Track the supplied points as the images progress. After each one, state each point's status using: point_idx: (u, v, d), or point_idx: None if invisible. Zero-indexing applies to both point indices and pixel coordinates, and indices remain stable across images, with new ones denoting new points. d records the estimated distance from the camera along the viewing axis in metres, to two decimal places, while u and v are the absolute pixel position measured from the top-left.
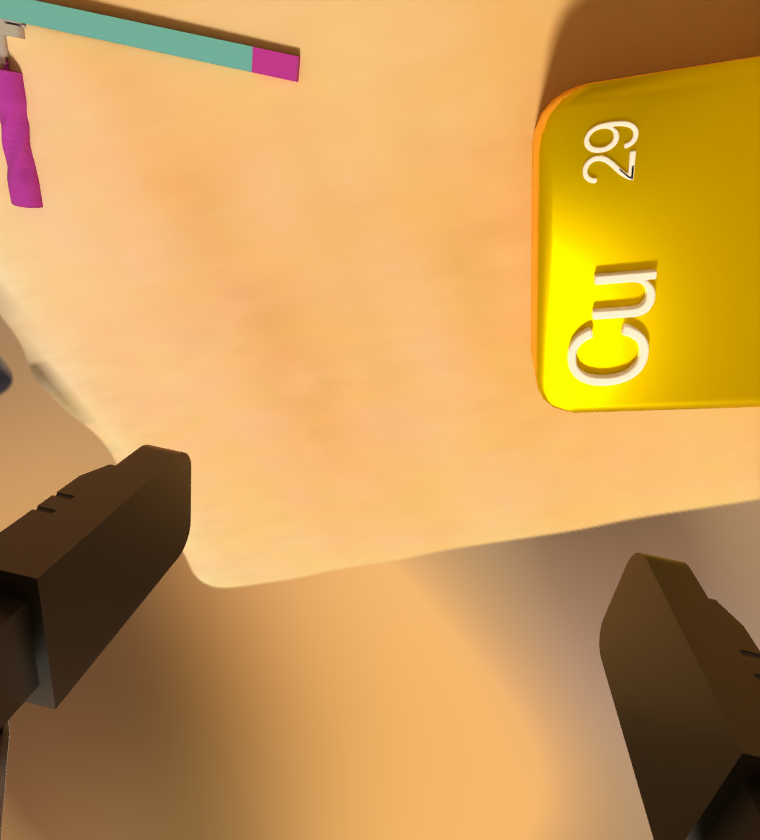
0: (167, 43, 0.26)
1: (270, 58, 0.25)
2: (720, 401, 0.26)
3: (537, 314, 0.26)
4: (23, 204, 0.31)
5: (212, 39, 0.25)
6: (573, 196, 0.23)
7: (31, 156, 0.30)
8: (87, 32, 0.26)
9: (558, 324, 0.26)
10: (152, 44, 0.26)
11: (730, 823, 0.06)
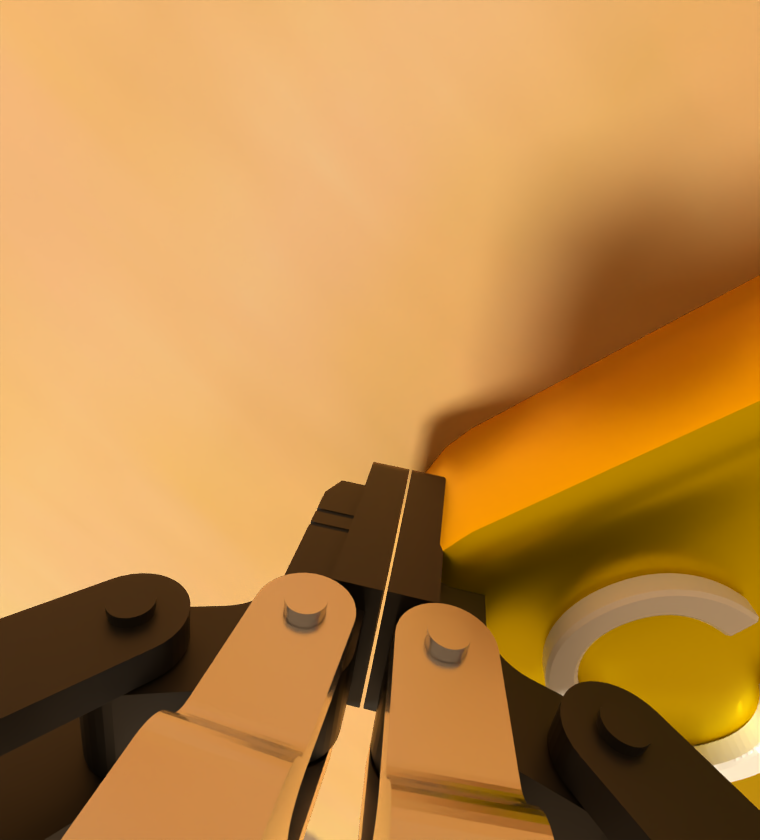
0: None
1: None
2: None
3: (715, 419, 0.06)
4: None
5: None
6: None
7: None
8: None
9: (716, 507, 0.07)
10: None
11: (388, 653, 0.07)
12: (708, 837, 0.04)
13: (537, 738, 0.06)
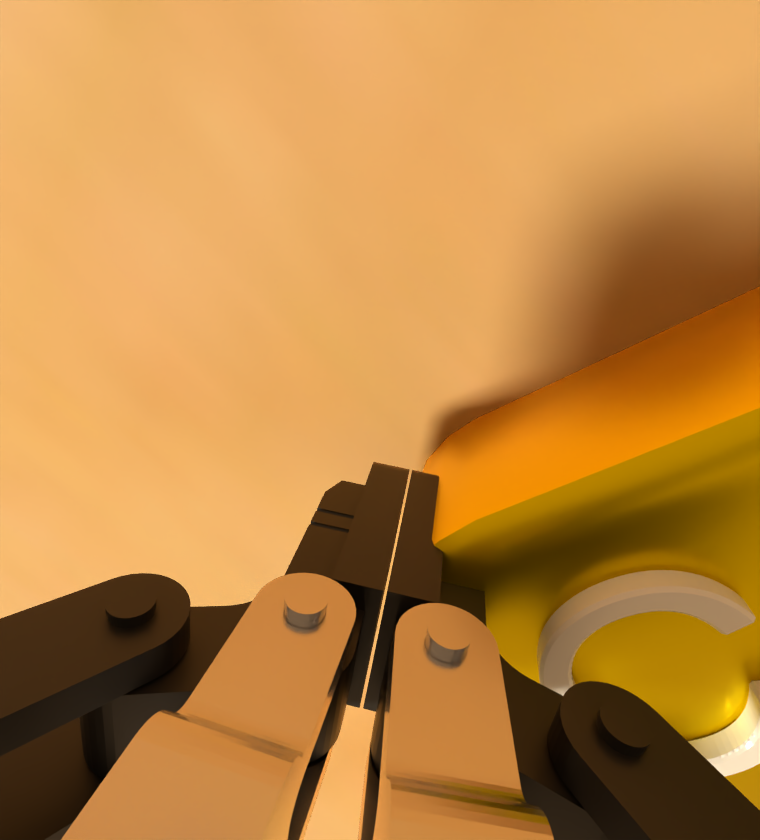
0: None
1: None
2: None
3: (726, 420, 0.06)
4: None
5: None
6: None
7: None
8: None
9: (722, 506, 0.07)
10: None
11: (388, 653, 0.07)
12: (708, 837, 0.04)
13: (537, 738, 0.06)
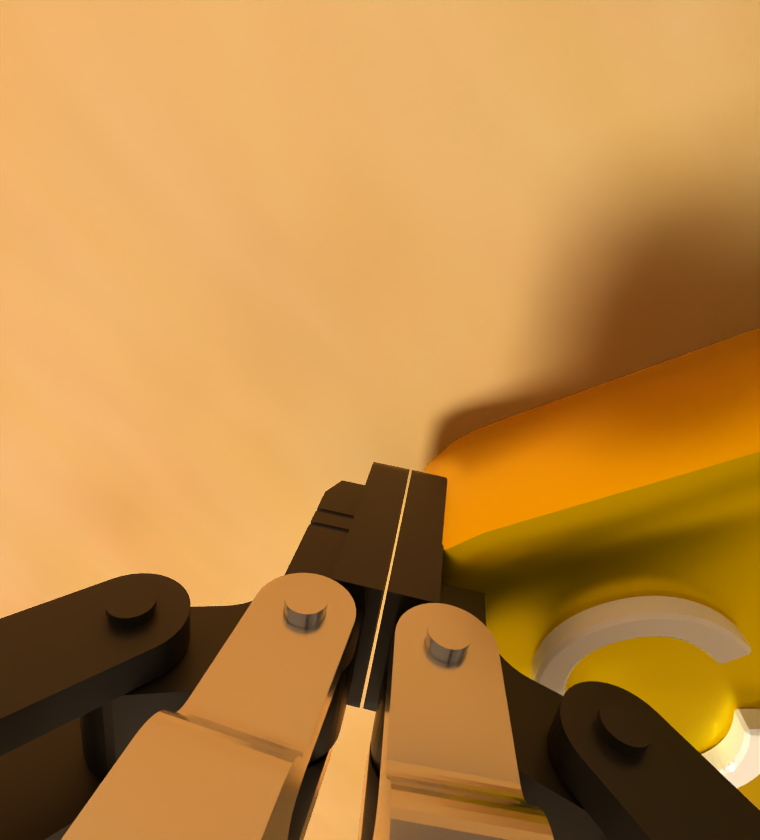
0: None
1: None
2: None
3: (744, 455, 0.07)
4: None
5: None
6: None
7: None
8: None
9: (730, 539, 0.07)
10: None
11: (388, 653, 0.07)
12: (708, 837, 0.04)
13: (537, 738, 0.06)
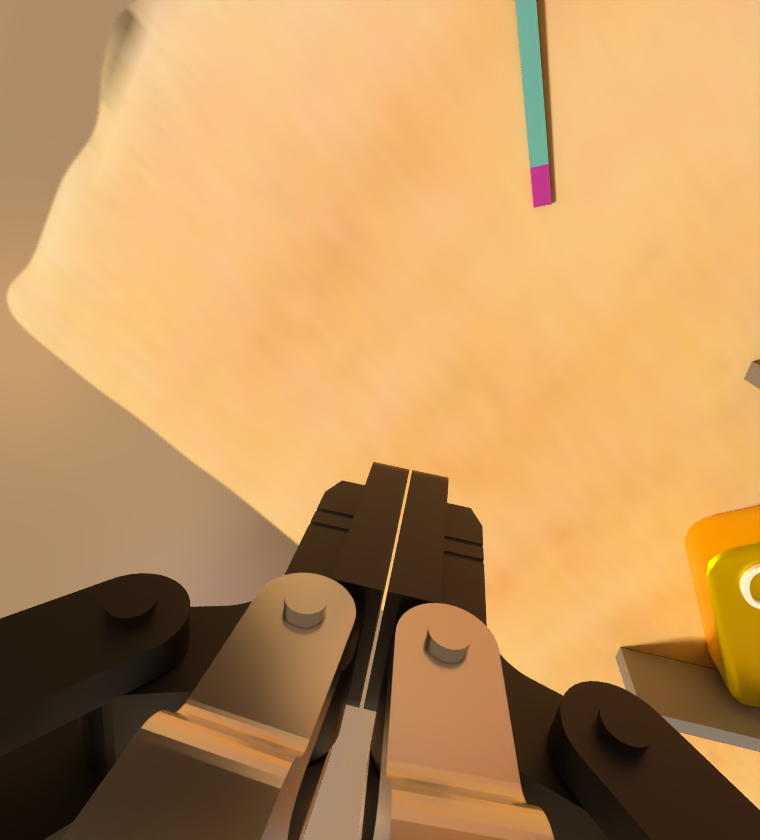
0: (531, 84, 0.30)
1: (544, 181, 0.32)
2: (730, 651, 0.38)
3: None
4: None
5: (544, 126, 0.30)
6: None
7: None
8: None
9: None
10: (527, 69, 0.29)
11: (388, 652, 0.07)
12: (708, 837, 0.04)
13: (537, 738, 0.06)
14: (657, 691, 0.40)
